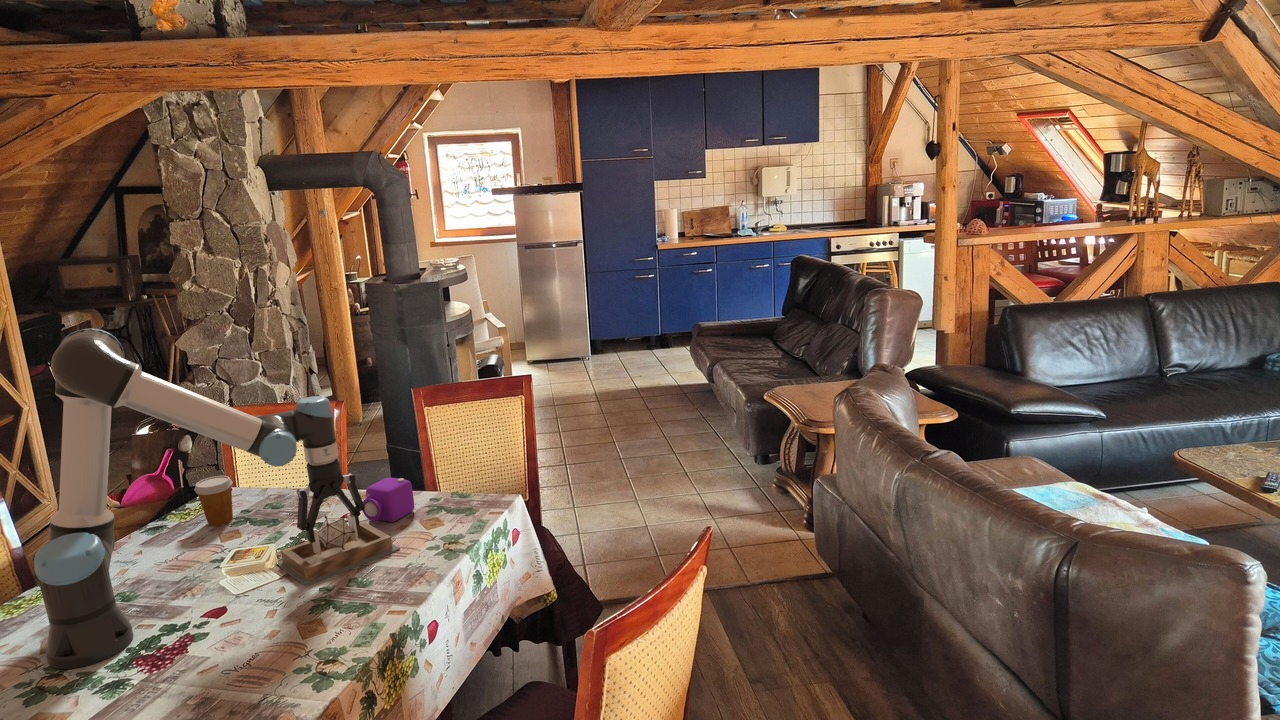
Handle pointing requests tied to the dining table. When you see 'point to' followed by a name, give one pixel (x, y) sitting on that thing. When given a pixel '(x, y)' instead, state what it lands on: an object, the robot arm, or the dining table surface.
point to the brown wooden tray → (336, 553)
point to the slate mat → (307, 583)
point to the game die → (334, 533)
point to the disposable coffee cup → (216, 499)
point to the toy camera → (389, 500)
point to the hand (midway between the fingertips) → (336, 546)
